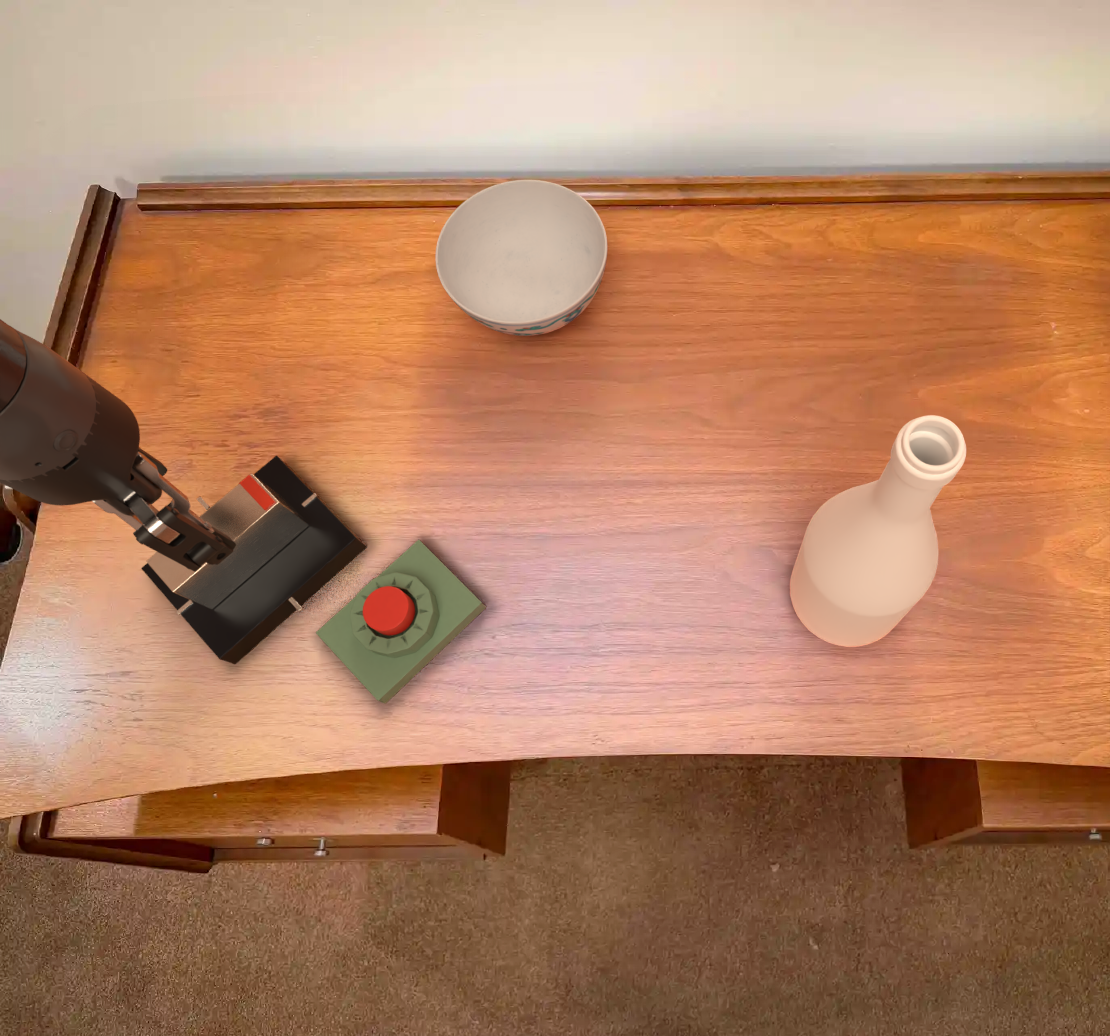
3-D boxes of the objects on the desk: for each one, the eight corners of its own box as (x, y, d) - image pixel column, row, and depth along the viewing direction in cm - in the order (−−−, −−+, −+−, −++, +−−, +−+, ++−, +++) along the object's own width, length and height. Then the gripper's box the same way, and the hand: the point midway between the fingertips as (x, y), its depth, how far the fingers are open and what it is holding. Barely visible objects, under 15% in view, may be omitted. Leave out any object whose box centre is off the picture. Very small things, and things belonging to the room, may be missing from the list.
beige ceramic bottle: (792, 651, 71) (849, 532, 43) (785, 540, 74) (834, 362, 46) (908, 648, 71) (1042, 527, 43) (896, 538, 74) (1014, 357, 46)
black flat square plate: (245, 679, 71) (229, 673, 68) (146, 565, 74) (127, 555, 72) (380, 558, 74) (368, 548, 72) (279, 454, 78) (265, 441, 75)
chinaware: (427, 321, 82) (400, 272, 75) (520, 211, 86) (503, 154, 79) (556, 396, 79) (541, 352, 72) (646, 277, 83) (640, 225, 76)
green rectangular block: (385, 704, 70) (369, 698, 67) (323, 637, 72) (305, 627, 69) (486, 607, 73) (476, 597, 69) (424, 545, 75) (411, 532, 71)
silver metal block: (212, 610, 70) (170, 591, 65) (186, 580, 71) (143, 560, 66) (309, 525, 73) (277, 500, 67) (283, 497, 74) (250, 471, 68)
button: (390, 645, 69) (382, 640, 67) (361, 614, 69) (352, 609, 68) (424, 612, 69) (417, 607, 68) (395, 582, 70) (388, 576, 69)
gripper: (-101, 382, 49) (91, 487, 64) (35, 546, 46) (204, 616, 61) (14, 299, 51) (175, 420, 66) (153, 451, 47) (289, 542, 63)
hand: (188, 514), depth 64 cm, fingers open, 8 cm apart
